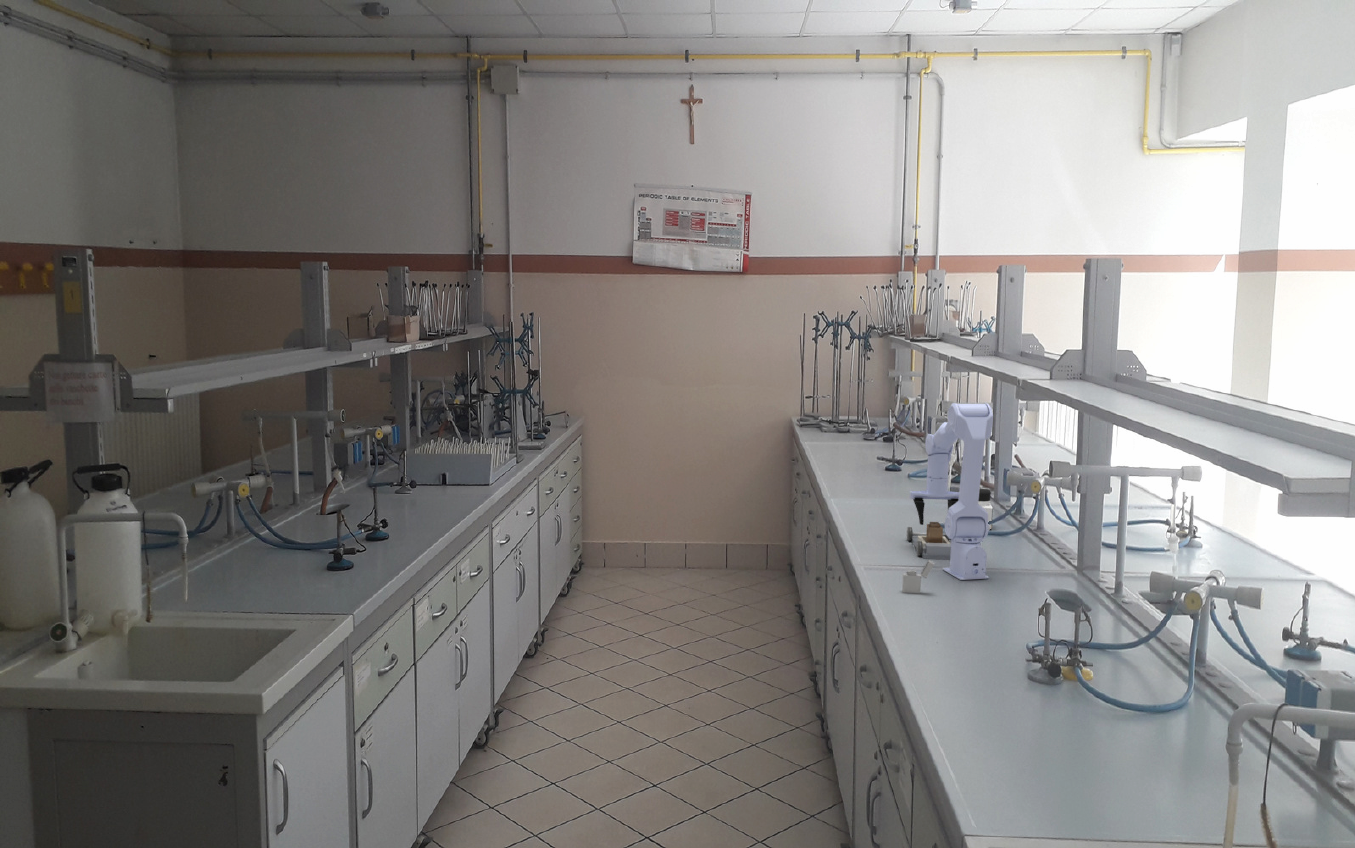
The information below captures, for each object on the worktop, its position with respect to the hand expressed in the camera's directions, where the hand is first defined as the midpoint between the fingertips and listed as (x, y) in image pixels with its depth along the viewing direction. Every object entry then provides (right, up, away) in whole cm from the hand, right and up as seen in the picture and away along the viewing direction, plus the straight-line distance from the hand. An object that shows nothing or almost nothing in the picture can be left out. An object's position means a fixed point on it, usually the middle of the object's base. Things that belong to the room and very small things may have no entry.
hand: (935, 524), depth 272 cm
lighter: (-15, -13, -39) cm, 43 cm away
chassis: (0, -7, +1) cm, 7 cm away
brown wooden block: (0, -6, +1) cm, 6 cm away
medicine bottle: (+21, -4, +27) cm, 34 cm away
